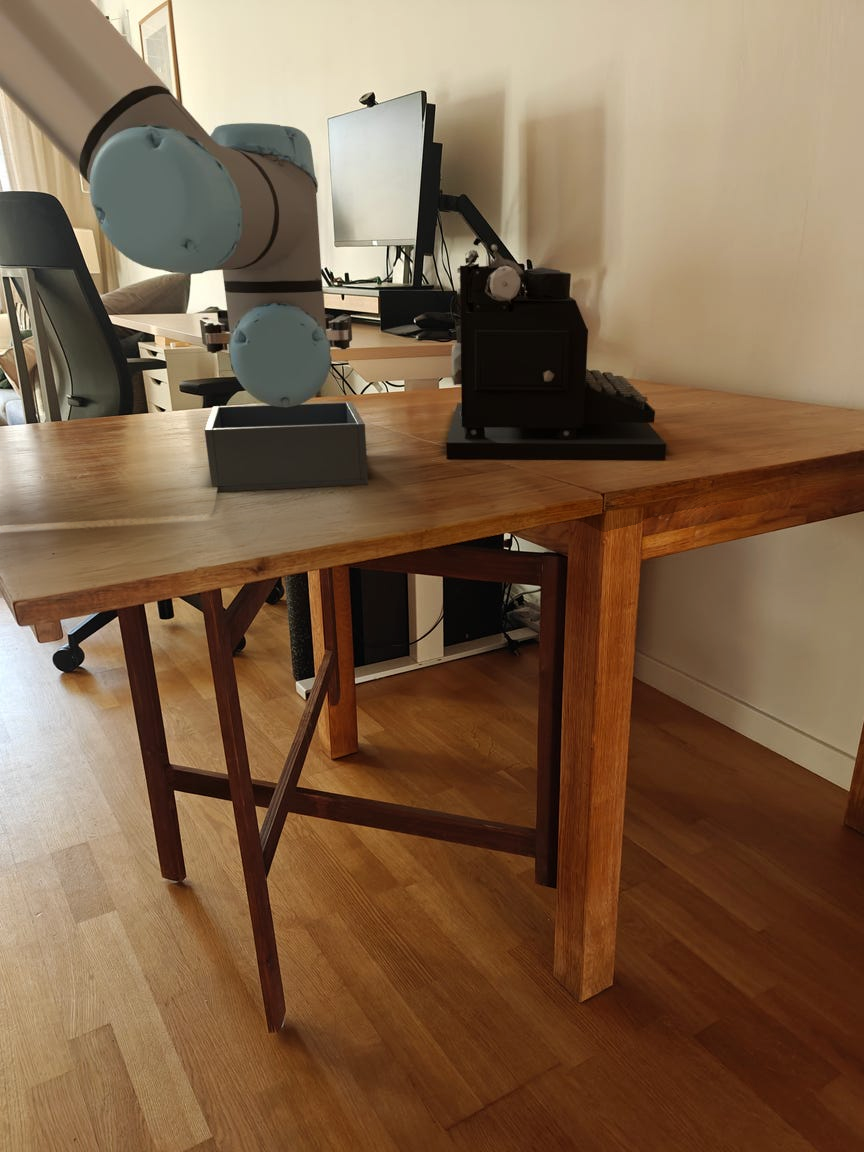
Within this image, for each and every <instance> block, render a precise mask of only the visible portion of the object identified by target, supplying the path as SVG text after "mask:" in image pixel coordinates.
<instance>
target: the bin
mask: <svg viewBox="0 0 864 1152" xmlns="http://www.w3.org/2000/svg"><path fill="white" fill-rule="evenodd" d="M204 436H205V446H206V452H207V460H208V461H207V462H208V469H209V477H210V485H211V487H212V488H213V487H214V488H215V487H217V489H216V493H226V492H227V493H229V492H230V493H231V492H246V491H247V492H248V491H266V490H283V489H285V490H286V489H304V488H325V487H344V486H345V487H346V486H361V485H362V486H363V485H369V479H368V478H369V477H368V459H367V457H368V456H367V438H366V437H367V436H366V424H365V422H364V420H363V418H362V417H361V415H360V413H359V412H358V410H357V409H356V406H355V405H354V403H353V401H337V402H334V401H332V402H304V403H302V404H299V405H295V406H290V407H277V406H272V405H268V404H246V405H245V404H243V405H216V406H215V405H214V406H212V408H211V411H210V414H209V417H208V419H207V423H206V425H205V428H204Z"/></svg>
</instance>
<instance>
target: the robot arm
mask: <svg viewBox="0 0 864 1152" xmlns="http://www.w3.org/2000/svg"><path fill="white" fill-rule="evenodd" d="M0 90H1V91H2V92H3V93H4V94H5V95H6V96H7V97H8V98H9V99H10V100H11V101H12V103H13V104H14V105H15V106H16V107H17V108H18V109H19V110H20V111H21V112H22V113H23V114H24V115H25V116H26V118H27V119H28V120H29V121H30V122H31V123H32V124H33V125H34V126H35V127H36V128H37V129H38V131H39V132H40V133H41V134H42V135H43V136H44V137H45V138H46V139H47V140H48V141H49V142H50V144H51V145H52V146H53V147H54V149H56V150H57V151H58V152H59V153H60V155H62V157H64V159H65V160H66V161H67V162H68V163H69V164H70V165H71V166H72V167H73V168H74V169H75V171H77V173H78V174H79V175H80V176H81V177H82V178H83V179H84V181H86V182H87V184H89V196H90V202H91V206H92V208H93V210H94V213H95V217H96V219H97V221H98V223H99V225H100V229H101V231H102V233H103V235H104V236H105V237H106V239H107V240H108V241H109V242H110V244H111V245H112V246H113V247H114V248H115V249H116V250H117V251H119V252H120V253H121V254H122V255H123V256H124V257H125V258H127V259H129V260H131V261H132V262H133V263H136V264H138V265H140V266H142V267H145V268H149V269H152V270H159V271H164V272H169V273H172V274H184V275H198V274H200V275H201V274H203V273H205V272H209V271H210V272H211V271H222V278H223V285H224V294H225V302H226V309H219V310H216V316H217V320H215V319H213V318H210V317H208V316H205V317H204V316H203V317H201V318H199V325H200V333H201V341H202V342H201V343H202V345H204V346H205V347H206V351H207V352H208V353H211V354H217V353H218V352H222V351H228V354H229V362H230V367H231V370H232V373H233V374H234V375H235V377H236V379H237V381H238V382H239V384H240V385H241V387H242V388H243V389H244V390H245V391H246V392H247V393H248V394H249V395H250V396H252V397H253V398H254V399H256V400H257V401H259V402H261V403H264V404H265V405H272V406H277V407H290V406H295V405H299V404H302V403H307V402H308V401H309V400H311V399H312V398H313V397H315V396H316V395H318V393H319V392H320V391H321V390H322V388H323V387H324V385H325V383H326V381H327V379H328V377H329V372H330V370H332V369H331V368H332V363H333V361H332V360H333V359H332V355H331V348H337V349H340V350H347V349H349V348H351V347H350V342H352V341H353V329H352V316H351V315H348V314H347V313H346V314H342V315H339V316H337V317H336V318H334V315H331V314H326V309H325V294H324V289H323V288H324V287H323V277H322V275H323V274H322V260H321V259H322V258H321V245H320V244H321V243H320V230H319V228H320V227H319V215H318V213H319V212H318V199H317V193H318V188H319V187H318V186H319V185H318V179H317V177H316V173H315V164H314V157H313V151H312V149H313V148H312V145H311V141H310V139H309V137H308V136H307V134H306V133H305V132H304V131H302V130H301V129H299V128H297V127H294V126H288V125H281V124H276V123H275V124H274V123H259V122H258V123H256V122H252V123H251V122H243V123H241V122H240V123H226V124H221V125H218V126H215V128H213V130H212V131H211V133H210V134H209V133H208V132H207V130H205V129H204V128H203V127H202V125H201V124H200V123H199V122H198V121H197V120H196V119H195V117H194V116H193V115H192V114H191V113H190V112H189V110H187V109H186V107H185V106H184V105H183V104H182V103H181V102H180V101H179V100H178V99H177V98H176V97H175V96H174V95H173V94H172V93H171V90H170V89H169V87H168V86H167V85H166V84H165V83H164V81H162V79H161V78H160V77H159V76H158V75H157V74H156V73H155V71H154V70H153V69H152V67H150V66H149V65H148V63H147V62H146V61H145V60H144V58H142V56H140V54H139V52H137V50H135V48H133V47H132V45H131V44H130V42H128V40H127V39H126V38H125V37H124V36H123V34H122V33H120V32H119V30H118V29H117V28H116V27H115V26H114V24H113V23H112V22H111V21H110V20H109V19H108V18H107V17H106V16H105V15H104V13H103V12H102V11H101V10H100V9H99V7H98V6H97V5H96V4H95V3H94V1H92V0H0Z"/></svg>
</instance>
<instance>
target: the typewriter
mask: <svg viewBox="0 0 864 1152" xmlns="http://www.w3.org/2000/svg"><path fill="white" fill-rule="evenodd" d="M482 242H483V243H484V244H483V245H484V247H485V248H484V249H485V251H486V255H485V260H486V261H485V265H483V266H482V265H480V263H476V262H477V260H478V258H480V256H479V253H478V251H477V250H475V249H472V250H471V249H470V250H469V251H467V252H466V253H465V258H464V259H465V265H459V267H457V269H456V270H457V271H456V272H457V274H459V276H458V280H459V287H460V288H457V294H458V295H459V298H460V299H459V300H460V301H459V304H460V306H459V309H460V310H459V311H460V314H459V315H460V325H456V326H455V327H456V328H455V332H456V342H454V344H453V345H452V346H451V374H450V375H451V380H452V384H453V386H457V385H460V386H461V387H460V389H461V391H460V394H461V402H457V404H456V406H455V411H454V414H453V417H452V421H451V425H450V428H449V432H448V435H447V438H446V441H445V445H446V446H445V447H446V449H445V451H446V460H453V459H454V460H554V461H555V460H556V461H557V460H559V461H561V460H566V461H569V460H570V461H574V460H575V461H578V460H579V461H582V460H584V461H666V455H667V454H666V453H667V443H666V442H665V440H664V439H663V437H661V436H660V435H659V434H658V432H657V431H656V430H655V429H654V428H653V426H651V425H650V424H655V419H656V410H655V409H654V408H653V407H652V406H651V405H650V404H649V403H648V401H649V400H648V396H643V394H642V393H641V392H640V391H638V389H636V387H635V386H634V385H632V383H631V382H629V381H628V379H626V378H625V377H624V375H614V374H613V372H610V371H603V372H601V371H600V370H598V369H591V370H589V368H588V367H587V366H588V365H587V362H588V341H589V328H588V327H587V325H586V323H585V320H584V318H583V315H582V312H581V310H580V307H579V306H578V303H577V300H576V299H575V298H573V297H571V280H572V279H571V277H572V274H571V273H570V272H566V271H561V270H559V269H553V268H548V267H537V268H536V267H535V268H530V269H522V268H521V266H519V265H518V264H517V263H516V262H515V261H513V260H511V259H505V258H504V257H502V255H500V253H499V252H498V245H497V244H492V245H491V246H490V247H491V249H490V250H492V251H493V253H492V256H493V257H494V258H492V256H491V253H490V250H489V246H488V244H487V243H486V242H485V241H484V240H482V239H480V238H479V237H476V238H475V239H474V240H473V243H472V245H473V246H477V247H479V245H480V244H481V243H482ZM467 254H468V255H467ZM520 275H523V280H522V281H523V282H522V281H521V277H520Z"/></svg>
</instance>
